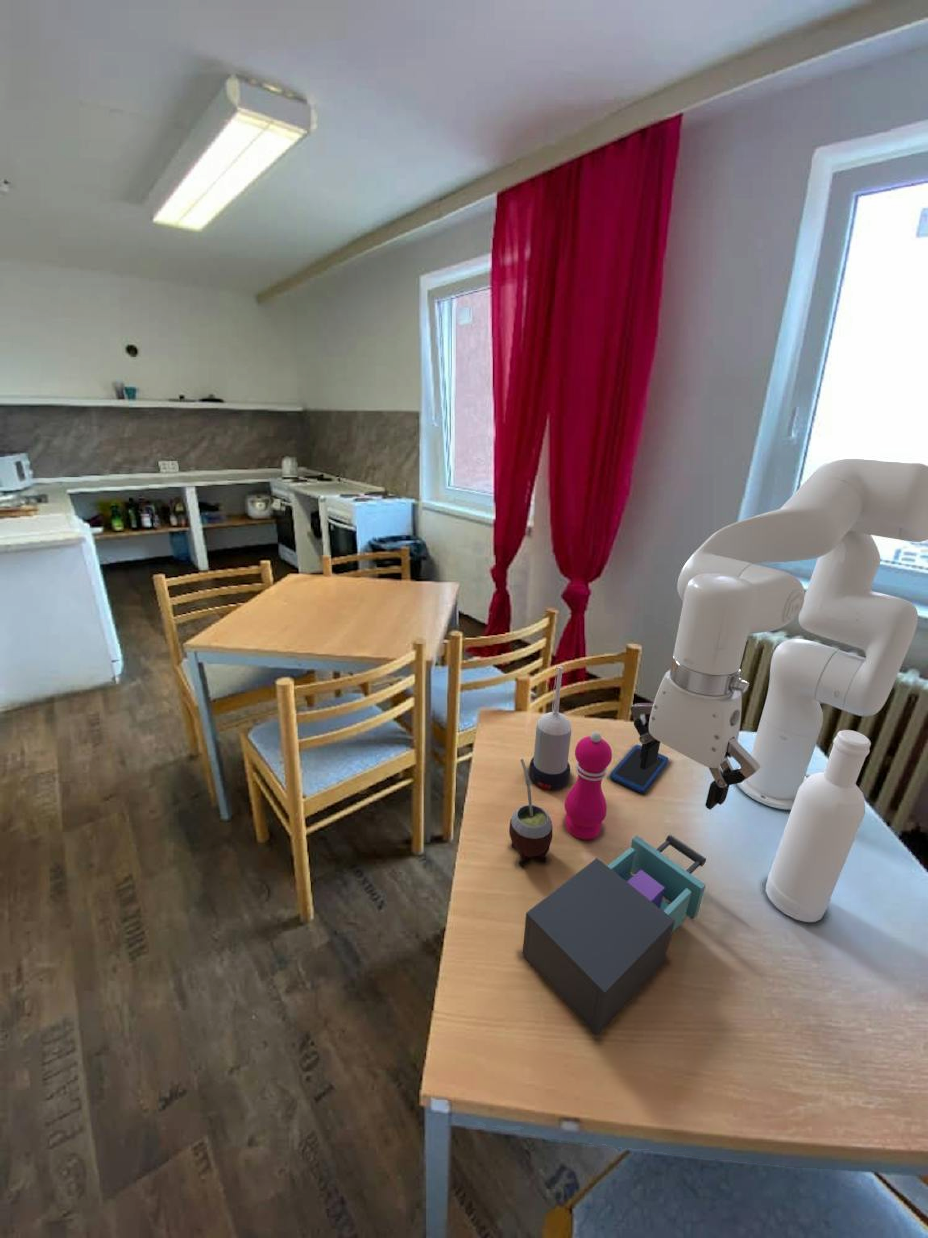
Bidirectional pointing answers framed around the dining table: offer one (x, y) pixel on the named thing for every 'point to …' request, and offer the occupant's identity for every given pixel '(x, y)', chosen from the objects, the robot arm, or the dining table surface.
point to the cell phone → (637, 770)
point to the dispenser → (596, 942)
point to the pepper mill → (588, 788)
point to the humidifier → (552, 747)
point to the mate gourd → (530, 829)
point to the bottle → (820, 832)
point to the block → (648, 887)
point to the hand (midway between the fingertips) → (679, 783)
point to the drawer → (665, 875)
